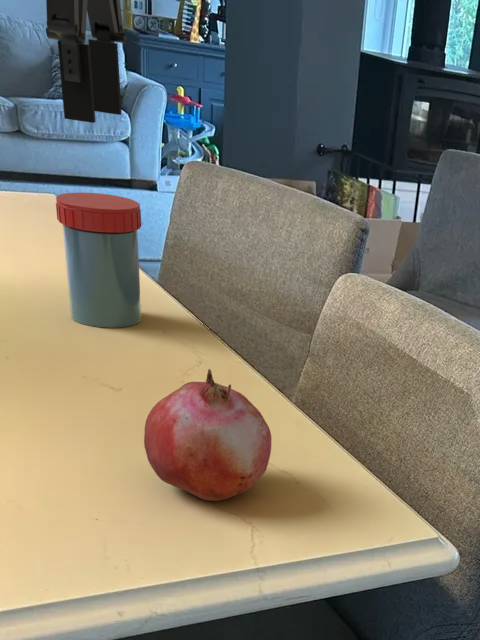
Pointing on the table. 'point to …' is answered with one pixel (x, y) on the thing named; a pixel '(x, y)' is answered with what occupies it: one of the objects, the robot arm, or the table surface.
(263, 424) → the fruit
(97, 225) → the lid
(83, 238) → the jar
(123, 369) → the table surface
